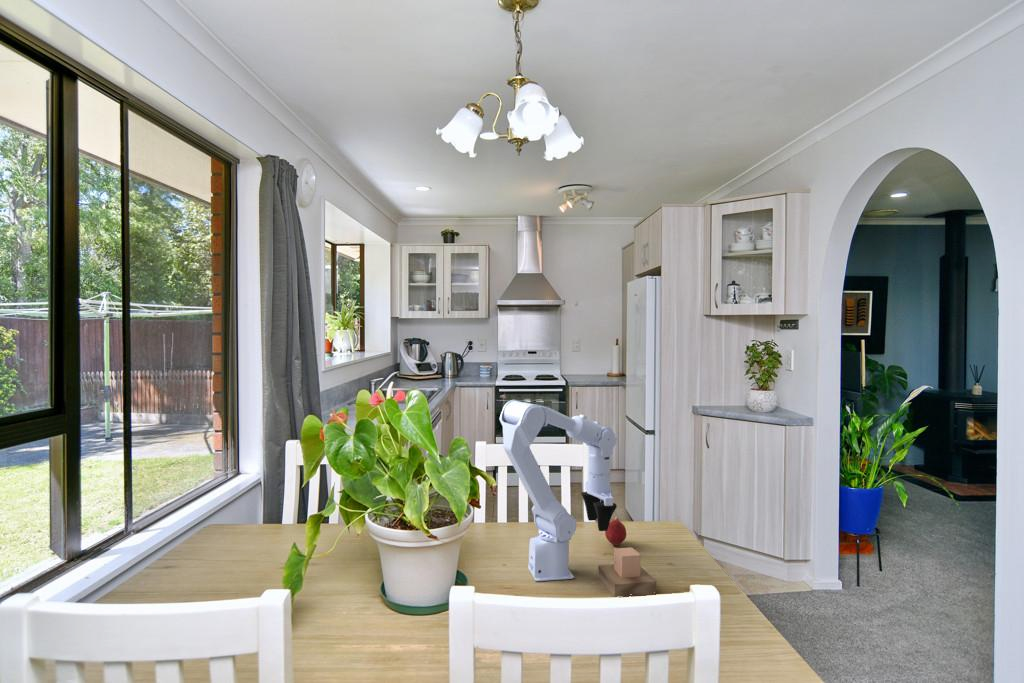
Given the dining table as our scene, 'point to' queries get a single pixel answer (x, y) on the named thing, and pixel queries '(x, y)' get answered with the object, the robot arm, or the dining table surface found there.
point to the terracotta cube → (627, 562)
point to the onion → (616, 532)
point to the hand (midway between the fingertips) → (597, 525)
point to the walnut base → (626, 582)
